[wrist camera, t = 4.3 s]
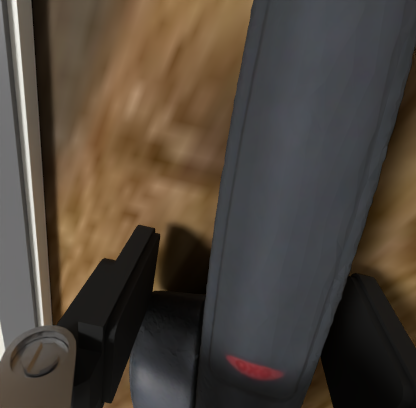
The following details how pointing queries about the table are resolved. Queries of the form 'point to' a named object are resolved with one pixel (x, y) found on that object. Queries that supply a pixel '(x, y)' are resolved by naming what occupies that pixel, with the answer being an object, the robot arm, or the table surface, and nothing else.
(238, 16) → the table surface
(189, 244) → the table surface
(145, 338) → the can opener
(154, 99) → the table surface
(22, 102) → the mat
